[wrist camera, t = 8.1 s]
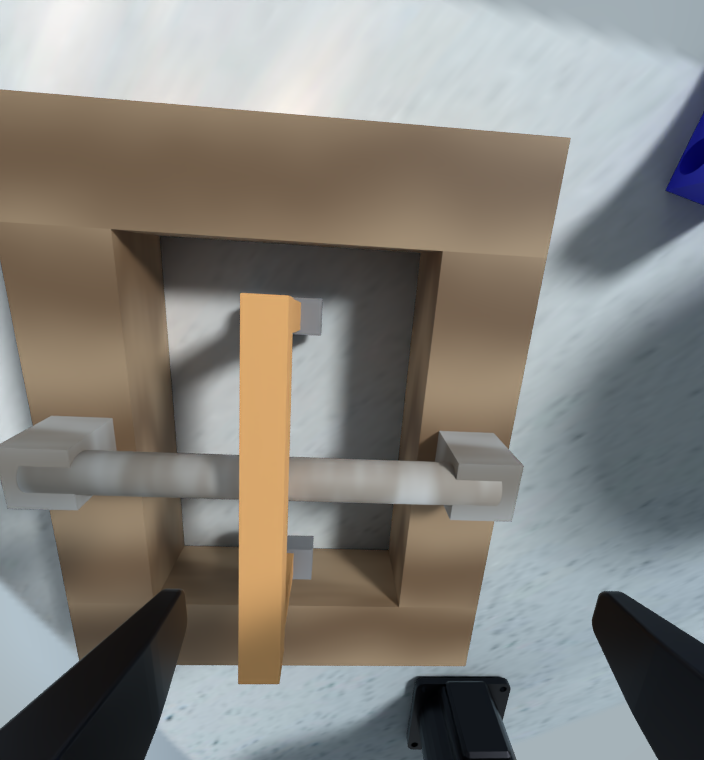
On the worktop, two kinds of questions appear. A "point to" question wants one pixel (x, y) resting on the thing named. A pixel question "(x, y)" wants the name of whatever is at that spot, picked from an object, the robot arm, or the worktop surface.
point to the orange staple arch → (267, 479)
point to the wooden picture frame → (152, 364)
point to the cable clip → (691, 169)
